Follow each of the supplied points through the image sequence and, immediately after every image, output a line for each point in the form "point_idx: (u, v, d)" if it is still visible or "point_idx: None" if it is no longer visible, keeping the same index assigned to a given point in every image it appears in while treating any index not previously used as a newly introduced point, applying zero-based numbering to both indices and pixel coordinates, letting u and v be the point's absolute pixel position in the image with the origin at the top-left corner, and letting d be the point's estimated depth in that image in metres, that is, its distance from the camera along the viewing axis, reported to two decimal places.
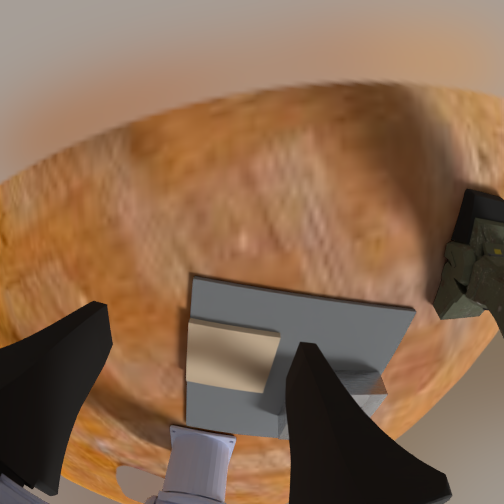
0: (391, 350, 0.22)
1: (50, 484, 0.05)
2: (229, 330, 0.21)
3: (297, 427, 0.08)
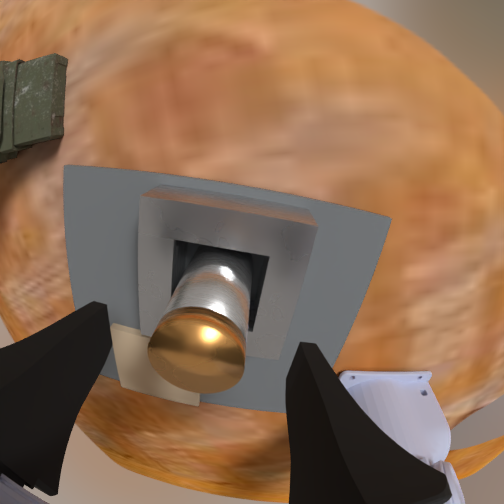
0: (119, 177, 0.15)
1: (50, 484, 0.05)
2: (116, 364, 0.20)
3: (297, 427, 0.08)
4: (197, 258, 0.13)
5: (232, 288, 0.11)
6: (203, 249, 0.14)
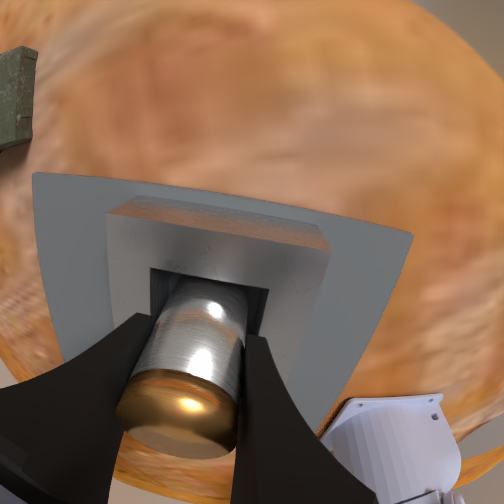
0: (90, 187, 0.12)
1: None
2: None
3: (240, 422, 0.08)
4: (180, 289, 0.11)
5: (221, 335, 0.08)
6: (188, 276, 0.11)
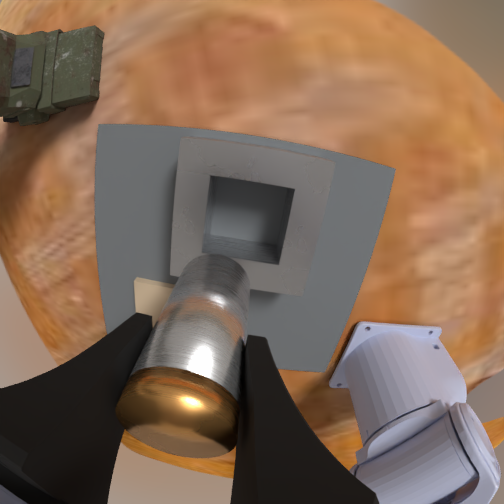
0: (154, 132, 0.16)
1: None
2: None
3: (240, 422, 0.08)
4: (181, 287, 0.11)
5: (222, 333, 0.08)
6: (189, 274, 0.11)
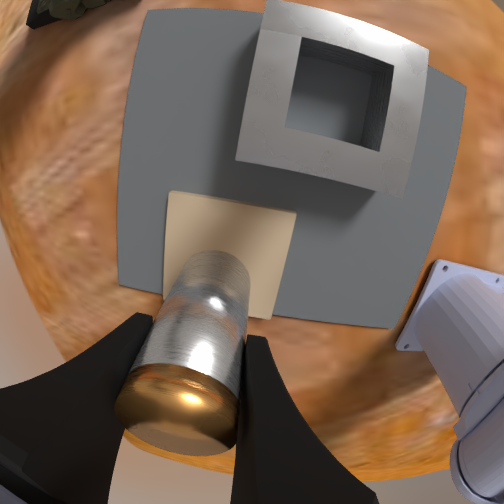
0: (217, 15, 0.11)
1: None
2: (164, 257, 0.16)
3: (240, 422, 0.08)
4: (183, 282, 0.10)
5: (225, 332, 0.08)
6: (191, 269, 0.11)
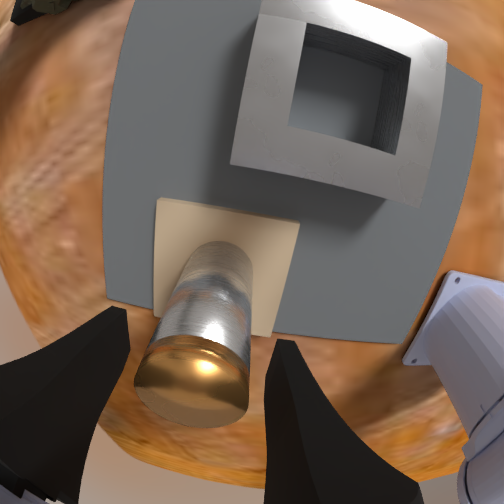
0: (211, 2, 0.10)
1: (71, 495, 0.05)
2: (154, 270, 0.15)
3: (273, 426, 0.08)
4: (193, 268, 0.12)
5: (234, 309, 0.10)
6: (200, 257, 0.12)
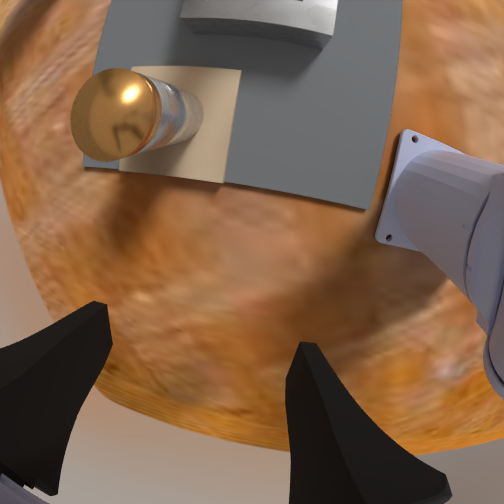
0: None
1: (50, 484, 0.05)
2: None
3: (297, 427, 0.08)
4: None
5: (164, 83, 0.10)
6: None
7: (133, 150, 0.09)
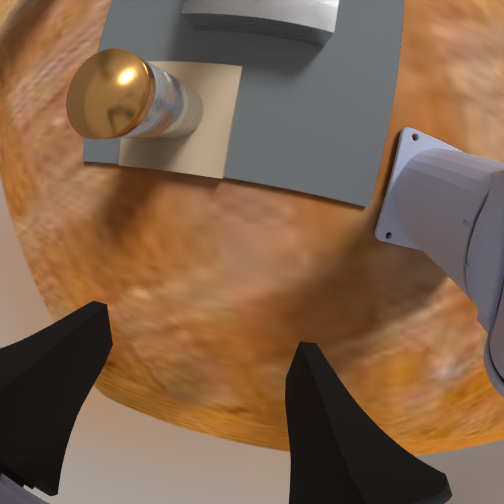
0: None
1: (50, 484, 0.05)
2: None
3: (297, 427, 0.08)
4: None
5: None
6: None
7: (125, 126, 0.08)
